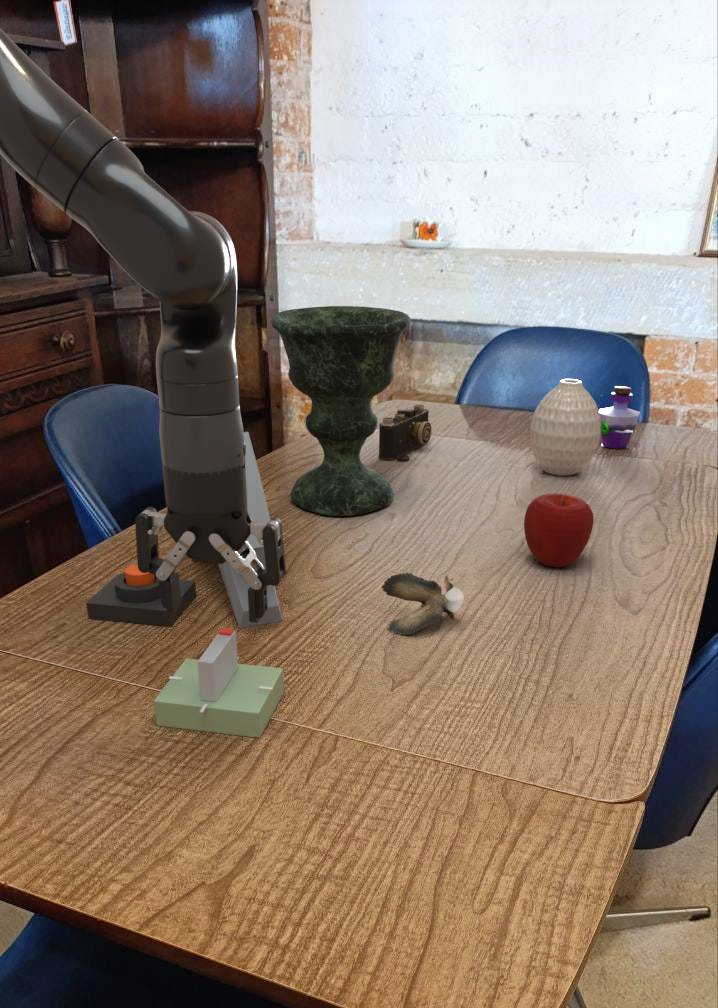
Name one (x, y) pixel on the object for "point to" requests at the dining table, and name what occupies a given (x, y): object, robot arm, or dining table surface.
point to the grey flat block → (218, 665)
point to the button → (138, 576)
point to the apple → (557, 528)
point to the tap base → (221, 701)
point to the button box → (136, 602)
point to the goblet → (341, 398)
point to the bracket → (257, 512)
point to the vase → (565, 429)
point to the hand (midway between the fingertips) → (215, 615)
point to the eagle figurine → (422, 601)
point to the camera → (404, 433)
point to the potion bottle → (618, 420)
